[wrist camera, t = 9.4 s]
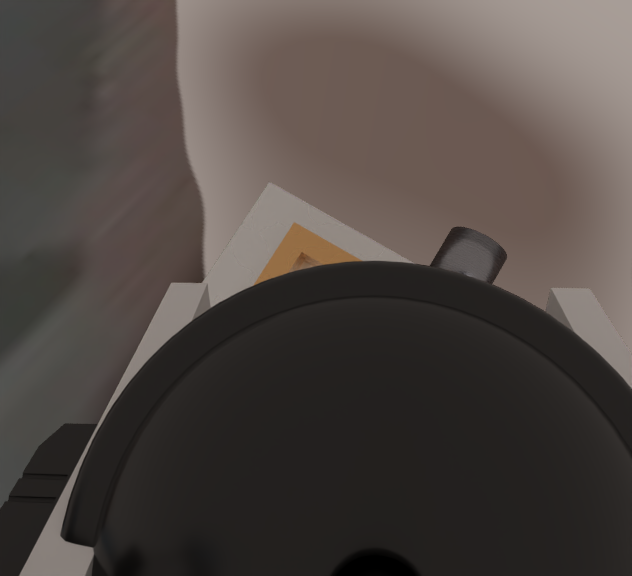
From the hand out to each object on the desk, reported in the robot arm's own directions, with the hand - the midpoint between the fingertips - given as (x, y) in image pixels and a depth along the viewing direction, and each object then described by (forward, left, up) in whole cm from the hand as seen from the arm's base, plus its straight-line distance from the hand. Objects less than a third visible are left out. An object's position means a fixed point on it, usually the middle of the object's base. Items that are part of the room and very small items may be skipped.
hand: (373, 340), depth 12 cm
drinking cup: (+2, -3, -9) cm, 9 cm away
